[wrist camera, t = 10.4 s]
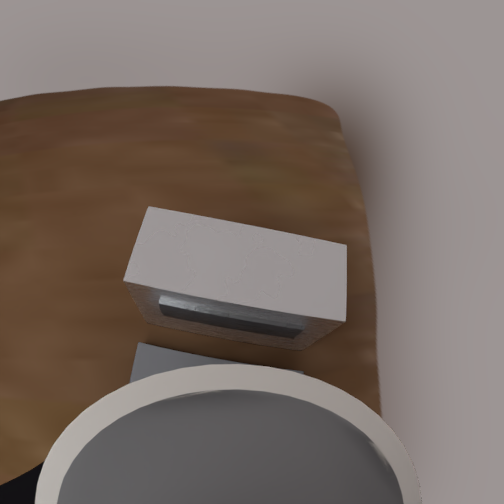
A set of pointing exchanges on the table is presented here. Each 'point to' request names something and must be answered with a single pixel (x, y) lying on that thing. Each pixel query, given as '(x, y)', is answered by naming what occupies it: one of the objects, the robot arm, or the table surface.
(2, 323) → the table surface
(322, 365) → the table surface
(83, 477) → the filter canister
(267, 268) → the block
